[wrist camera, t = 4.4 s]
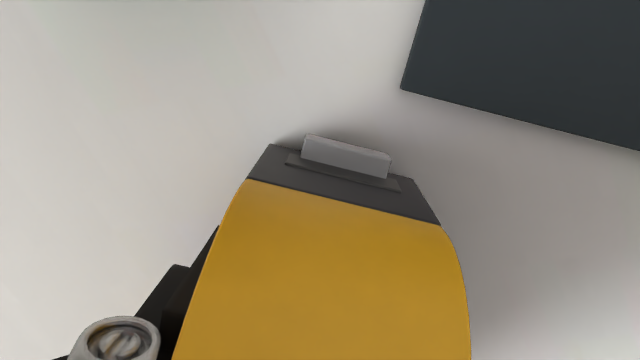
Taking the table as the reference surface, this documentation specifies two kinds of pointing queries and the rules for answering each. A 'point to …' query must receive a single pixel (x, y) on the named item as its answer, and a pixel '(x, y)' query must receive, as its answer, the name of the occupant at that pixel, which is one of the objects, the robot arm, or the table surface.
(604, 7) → the mat
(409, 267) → the tape measure
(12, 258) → the table surface
